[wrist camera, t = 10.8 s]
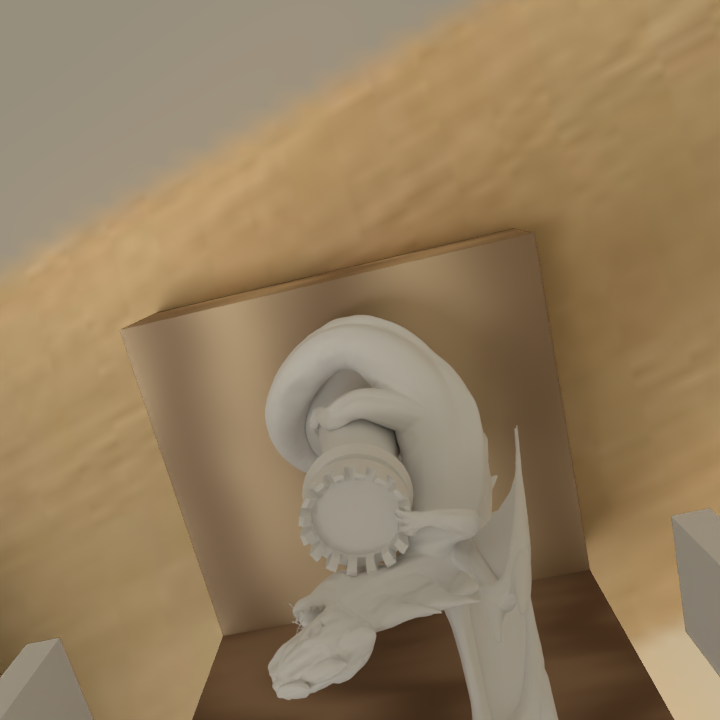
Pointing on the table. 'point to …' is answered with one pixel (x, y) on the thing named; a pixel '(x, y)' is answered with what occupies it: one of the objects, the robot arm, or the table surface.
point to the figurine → (402, 517)
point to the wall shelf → (422, 634)
